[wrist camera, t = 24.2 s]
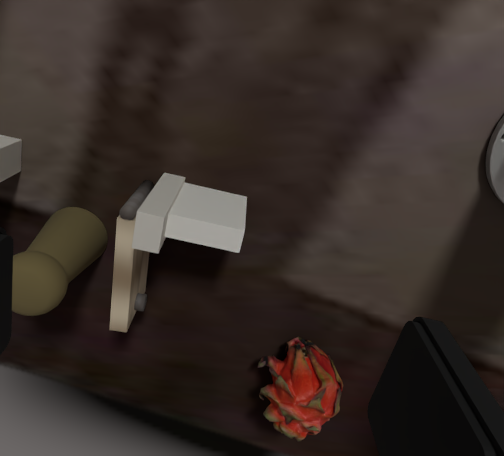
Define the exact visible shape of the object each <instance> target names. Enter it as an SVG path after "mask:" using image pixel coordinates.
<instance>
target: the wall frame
mask: <svg viewBox="0 0 504 456" xmlns="http://www.w3.org/2000/svg"><path fill="white" fill-rule="evenodd" d="M21 153H22V140H21V139H16V138H12V137H8V136H3V135H0V182H2V181H4V180H6V179H7V178H9V177H11V176H13V175H15V174H17V173H18V172H20V171H21ZM246 203H247V197H245V196H241V195H236V194H232V193H228V192H223V191H219V190H215V189H210V188H206V187H202V186H197V185H193V184H188V183H185V177H181V176H176V175H172V174H168V173H164V174H163V175H162V177H161V178H160V179H159V181H158V182H157V184H156V185H155V186H154V188H153V189H152V191H151V192H150V193H149V195H148V196H147V198H146V199H145V201H144V202H143V203H142V205H141V206H140V208H139V209H138V210H137V214H136V221H135V228H134V235H133V242H132V248H134V249H139V250H143V251H148V252H153V253H157V254H158V253H159V251H160V249H161V247H162V245H163V242H164V240H165V238H166V237H168V238H173V239H177V240H182V241H186V242H191V243H196V244H200V245H205V246H209V247H214V248H218V249H223V250H228V251H232V252H237V253H239V252H240V248H241V244H242V240H243V236H244V232H245V219H246Z"/></svg>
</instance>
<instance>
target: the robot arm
mask: <svg viewBox="0 0 504 456" xmlns="http://www.w3.org/2000/svg"><path fill="white" fill-rule="evenodd" d="M502 135H503V137H502ZM501 137H502V138H501ZM485 164H486V175H487V179H488V182H489V185H490V187H491V189H492V191H493V192H494V194H495V196H496V197H497V198H498V199H499V200H500V201H501V202H502V203H503V204H504V116H503V117H502V118H501V120H500V121H499V123H498V124H497V126H496V128H495V130H494V132H493V134H492V136H491V139H490V142H489V145H488V148H487V154H486V162H485ZM12 280H13V239H12V237H11V236H8V235H7V234H6V231H5V229H4V228H1V227H0V354H1V353H2V352H3V351H4V350H5V348H6V347H7V345H8V343H9V340H10V337H11V324H12ZM368 418H369V422H370V425H371V428H372V432H373V435H374V438H375V442H376V445H377V448H378V452H379V455H380V456H504V412H503V411H502V409H501V408H500V406H499V405H498V403H497V402H496V400H495V399H494V397H493V396H492V394H491V393H490V391H489V390H488V388H487V387H486V385H485V384H484V383H483V381H482V380H481V378H480V377H479V375H478V374H477V372H476V371H475V369H474V368H473V366H472V365H471V363H470V362H469V360H468V359H467V357H466V356H465V354H464V353H463V351H462V350H461V348H460V347H459V345H458V344H457V342H456V341H455V339H454V338H453V336H452V335H451V333H450V332H449V330H448V329H447V327H446V326H445V324H444V323H443V322H441V321H437V320H432V319H427V318H422V317H416V318H415V319H414V320H413V321H408V322H407V323H406V324H405V326H404V328H403V330H402V332H401V334H400V336H399V339H398V341H397V343H396V345H395V347H394V350H393V352H392V354H391V356H390V358H389V360H388V363H387V365H386V367H385V369H384V371H383V373H382V376H381V378H380V380H379V382H378V384H377V387H376V389H375V391H374V393H373V395H372V397H371V400H370V402H369V406H368Z"/></svg>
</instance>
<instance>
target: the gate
mask: <svg viewBox="0 0 504 456" xmlns="http://www.w3.org/2000/svg"><path fill="white" fill-rule="evenodd" d="M153 188H154V184H153V182H151V181H149V180H145V181H144V182H143V183H142V184H141V185H140V186H139V187H138V189H137V190H136V191H135V192H134V194H133V195H132V196H131V197H130V198H129V200H128V201H127V202H126V203H125V205H124V206H123V207H122V208H121V210H120V212H119V214H120V215H119V216H118V218H117V228H116V243H115V257H114V272H113V287H112V302H111V316H110V330H114V331H120V332H127V331H128V328H129V326H130V324H131V322H132V319H133V317H134V315H135V313H136V310H137V311H144V309H145V306H146V302H147V294H144V293H145V290H146V280H147V270H148V260H149V252H148V251H143V250H139V249H134V248H132V242H133V235H134V228H135V221H136V214H137V210H138V209H139V208H140V206H141V205H142V203H143V202H144V201H145V199H146V198H147V196H148V195H149V193H150V192H151V191H152V189H153Z"/></svg>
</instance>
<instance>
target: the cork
mask: <svg viewBox="0 0 504 456" xmlns="http://www.w3.org/2000/svg"><path fill="white" fill-rule="evenodd" d="M107 242H108V238H107V231H106V229H105V227H104V225H103V223H102V222H101V221H100V220H99V219H98V217H97V216H95V215H94V214H92V213H91V212H89V211H88V210H85V209H81V208H78V207H67V208H63V209H60V210H58V211H57V212H55V213H54V214H53V215H52V216H51V217H50V218H49V220H48V221H47V223H46V224H45V225H44V227H43V228H42V229H41V231H40V232H39V234H38V235H37V236H36V238H35V239H34V240H33V242H32V243H31V245H30V246H29V247H28V249H27V250H26V251H25V252H22V253H19V254H16V255H14V256H13V280H12V311H14V312H16V313H18V314H22V315H25V316H36V315H41V314H45V313H47V312H49V311H50V310H52V309H53V308H55V307H56V306H58V305H59V303H60V302H61V301H62V299H63V298H64V296H65V295H66V291H67V287H68V283H69V282H71V281H72V280H73V279H74V278H75V277H76V276H78V275H79V274H80V273H81V272H82V271H83V270H85V269H86V268H87V267H88V266H89V265H90V264H92V263H93V262H94V261H95V260H96V259H97V258H99V257H100V256H101V255H102V253H103V252H104V251H105V249H106V246H107Z"/></svg>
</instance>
